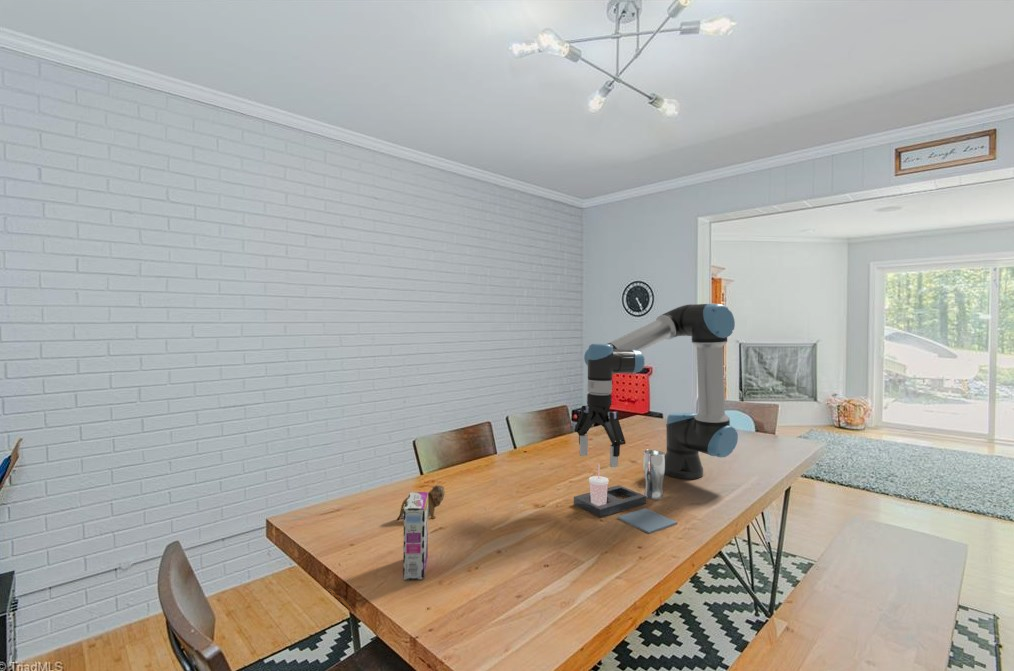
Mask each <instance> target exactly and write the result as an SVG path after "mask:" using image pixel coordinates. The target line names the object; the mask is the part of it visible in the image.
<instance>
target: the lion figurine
mask: <svg viewBox="0 0 1014 671" xmlns="http://www.w3.org/2000/svg"><path fill="white" fill-rule="evenodd" d="M445 493H446V492H445V486H443V485H441V484H436V485H434V486H432V489H431V490H430V491H428V517H431V519H432V520H434V519H436V517H437V516H435V515H434V514H435V508H437V507H439V506H440V505H441V503H442V501H443V500H444V497H445ZM407 499H408V497H406V498H405V499H404V500H403V502H402V503H401V506H400V512H399V516H398V517H397V518H396V519H395V521H400V519H403V520H404V507H405V504H406V501H407Z"/></svg>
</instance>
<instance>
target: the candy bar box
mask: <svg viewBox="0 0 1014 671" xmlns="http://www.w3.org/2000/svg"><path fill="white" fill-rule="evenodd" d="M428 492H429V491H428ZM428 492H426V491H423V492H421V491H419V492H409V494H408V499H407V501H406V504H404V506H405V507H403V508H404V514H403V516H404V518H403V561H402V562H403V564H402V565H403V569H402V570H403V571H402V573H403V575H402V576H403V577H402V580H403V581H421V580H425V574H426V569H427V563H428V556H429V555H428V554H429V550H428V549H429V547H428V546H429V516H428Z"/></svg>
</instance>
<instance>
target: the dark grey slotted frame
mask: <svg viewBox="0 0 1014 671" xmlns="http://www.w3.org/2000/svg"><path fill="white" fill-rule="evenodd" d="M620 496H622V497H624V498H619V497H620ZM573 505H575V506H576V507H578V508H580V509H582V510H583V511H586V512H588V513H590V514H592V515H594V516H596V517H598V518H604V517H606V516H607V517H608V516H611V515H614V514H617V513H620V512H624V511H626V510H630V509H634V508H637V507H640V506H644V505H647V498H646V496H645V495H644V494H643V493H639V492H638V491H634V490H633V489H630V488H627V487H625V486H622V485H619V484H618V485H615V486H610V487H608V488H607V501H606V504H604V505H600V506H597V505H595V504H593V503H591V495H590V492H587V493H583V494H579V495H575V496H573Z"/></svg>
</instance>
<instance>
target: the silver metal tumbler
mask: <svg viewBox="0 0 1014 671" xmlns="http://www.w3.org/2000/svg"><path fill="white" fill-rule="evenodd" d="M665 454H666V452H664V451H663V450H658V449H646V450H644V451H643V464H642V467H643V468H642V469H643V475H644V476H643V477H644V482H645V489H644V493H643V495H645V496H646V499H649V500H652V501H653V500H654V501H660V500H663V499H664V491H663V482H664V479H665V478H664V477H665V474H664V473H665Z"/></svg>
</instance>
